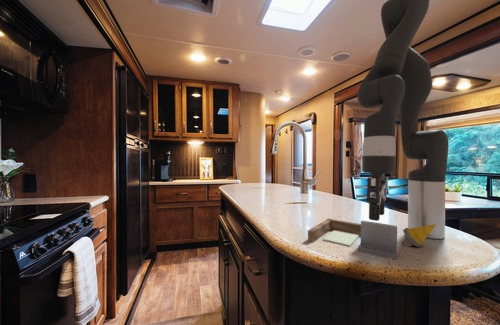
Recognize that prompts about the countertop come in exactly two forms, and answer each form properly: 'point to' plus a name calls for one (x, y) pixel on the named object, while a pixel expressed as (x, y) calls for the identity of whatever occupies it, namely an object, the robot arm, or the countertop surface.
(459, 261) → the countertop surface
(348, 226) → the corner walls
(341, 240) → the mat
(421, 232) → the yellow spiral cone
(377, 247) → the angle bracket
